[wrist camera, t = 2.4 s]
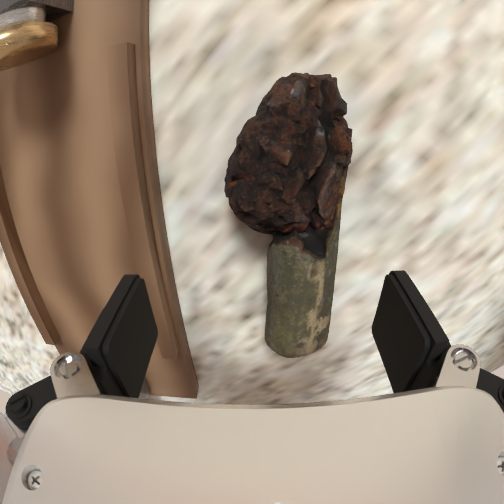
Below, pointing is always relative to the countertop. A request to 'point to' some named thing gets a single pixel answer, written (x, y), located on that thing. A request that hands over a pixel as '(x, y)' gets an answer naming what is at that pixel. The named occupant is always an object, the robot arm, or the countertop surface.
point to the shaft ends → (34, 44)
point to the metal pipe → (295, 202)
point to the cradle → (89, 185)
